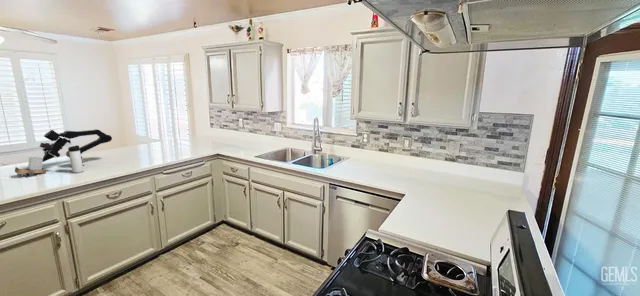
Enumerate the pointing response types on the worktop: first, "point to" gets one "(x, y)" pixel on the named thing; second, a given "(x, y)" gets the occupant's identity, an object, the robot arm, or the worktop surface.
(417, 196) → the worktop surface
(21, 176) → the pivot stand
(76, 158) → the travel mug
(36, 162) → the block
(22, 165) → the worktop surface
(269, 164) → the worktop surface
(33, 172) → the walnut beam
